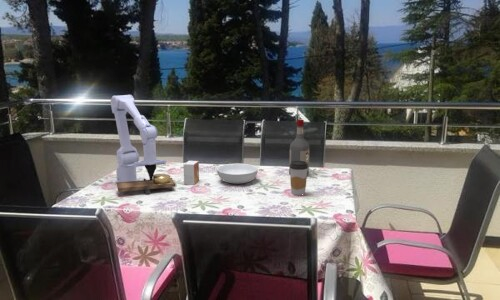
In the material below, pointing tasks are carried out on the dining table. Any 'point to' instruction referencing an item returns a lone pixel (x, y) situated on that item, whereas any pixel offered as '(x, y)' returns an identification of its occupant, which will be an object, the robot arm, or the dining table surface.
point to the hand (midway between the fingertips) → (151, 180)
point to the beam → (142, 185)
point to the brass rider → (161, 178)
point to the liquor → (299, 147)
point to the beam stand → (147, 189)
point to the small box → (191, 172)
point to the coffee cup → (298, 177)
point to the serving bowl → (237, 172)
